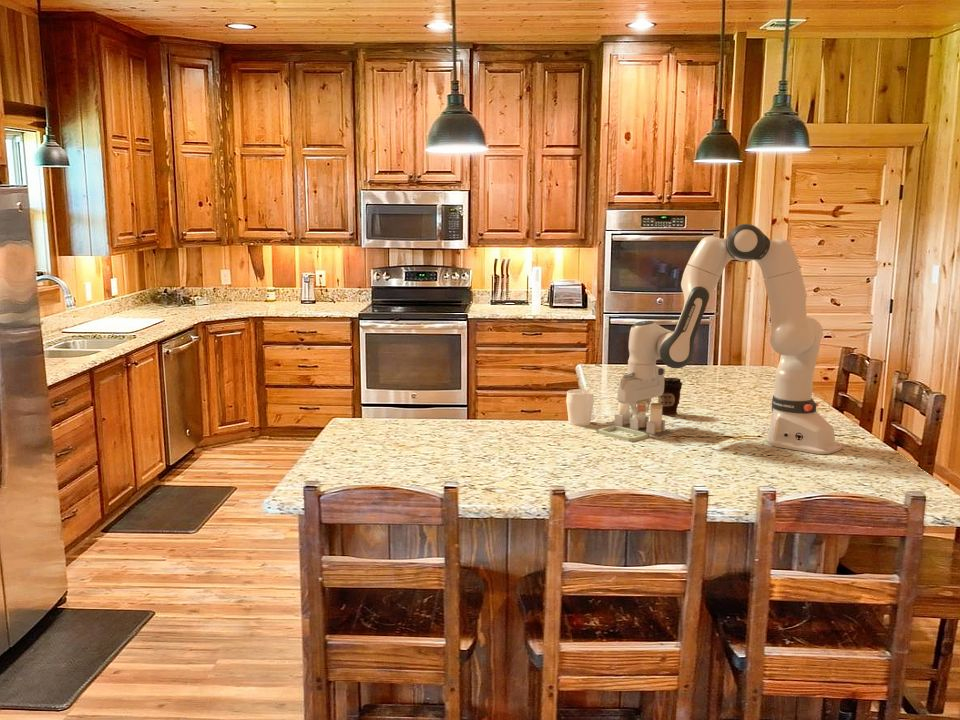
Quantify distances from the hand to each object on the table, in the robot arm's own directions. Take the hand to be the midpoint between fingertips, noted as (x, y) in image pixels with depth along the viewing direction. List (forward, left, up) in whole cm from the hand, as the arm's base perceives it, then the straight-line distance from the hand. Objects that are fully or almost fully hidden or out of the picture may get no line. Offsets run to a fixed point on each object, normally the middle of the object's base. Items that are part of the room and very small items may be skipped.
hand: (640, 413), depth 279 cm
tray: (-2, +11, -6) cm, 13 cm away
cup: (+17, +10, -7) cm, 21 cm away
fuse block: (0, 0, -6) cm, 6 cm away
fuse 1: (+7, 0, -5) cm, 8 cm away
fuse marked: (0, 0, -5) cm, 5 cm away
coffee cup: (+8, -27, -7) cm, 29 cm away
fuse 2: (-6, 0, -5) cm, 8 cm away
